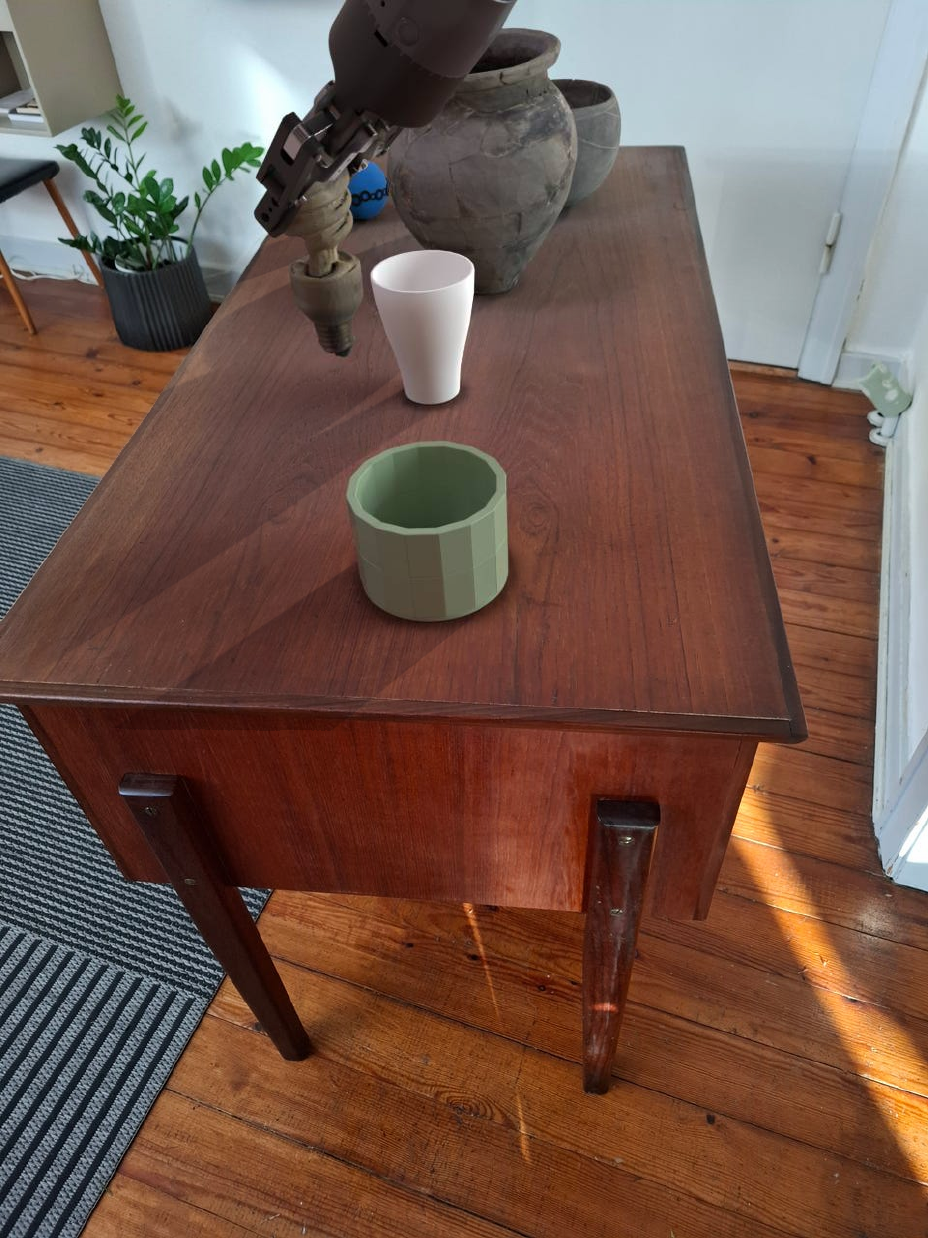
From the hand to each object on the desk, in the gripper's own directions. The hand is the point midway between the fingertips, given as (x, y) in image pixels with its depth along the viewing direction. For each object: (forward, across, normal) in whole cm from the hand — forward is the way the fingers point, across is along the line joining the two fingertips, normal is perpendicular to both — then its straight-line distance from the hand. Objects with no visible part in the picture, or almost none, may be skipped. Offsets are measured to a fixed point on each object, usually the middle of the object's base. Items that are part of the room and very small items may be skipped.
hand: (294, 209), depth 62 cm
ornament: (+50, -66, -10) cm, 83 cm away
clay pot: (+30, -52, +10) cm, 61 cm away
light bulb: (+6, 0, +9) cm, 11 cm away
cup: (+24, -24, +16) cm, 38 cm away
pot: (+13, +2, +27) cm, 30 cm away
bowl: (+33, -82, +7) cm, 89 cm away
